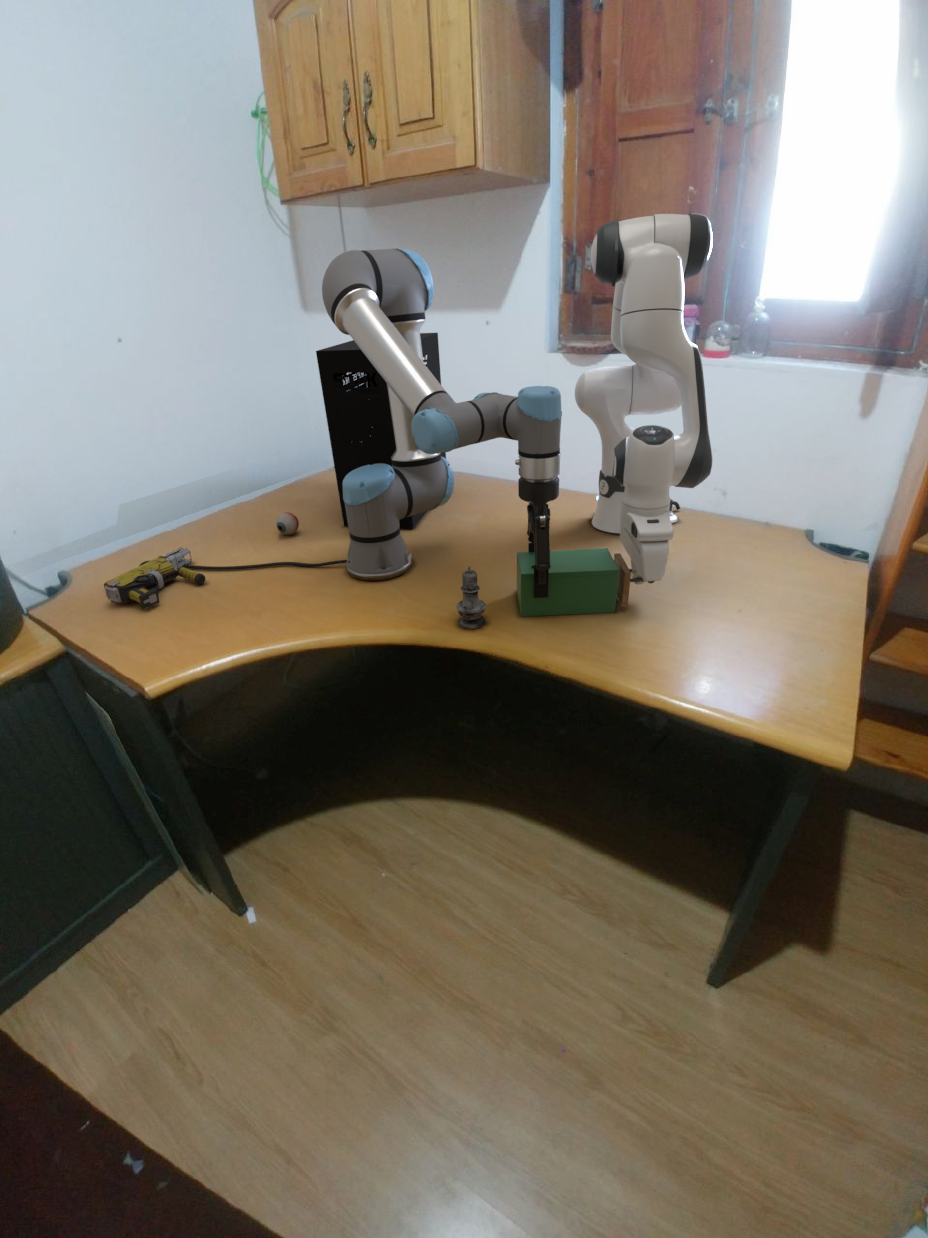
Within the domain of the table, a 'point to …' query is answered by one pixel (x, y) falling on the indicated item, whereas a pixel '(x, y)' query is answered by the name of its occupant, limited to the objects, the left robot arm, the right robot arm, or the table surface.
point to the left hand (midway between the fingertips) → (537, 583)
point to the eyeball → (287, 523)
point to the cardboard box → (363, 410)
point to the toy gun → (150, 579)
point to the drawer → (624, 579)
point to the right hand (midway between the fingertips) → (637, 581)
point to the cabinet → (569, 583)
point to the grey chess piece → (471, 602)
